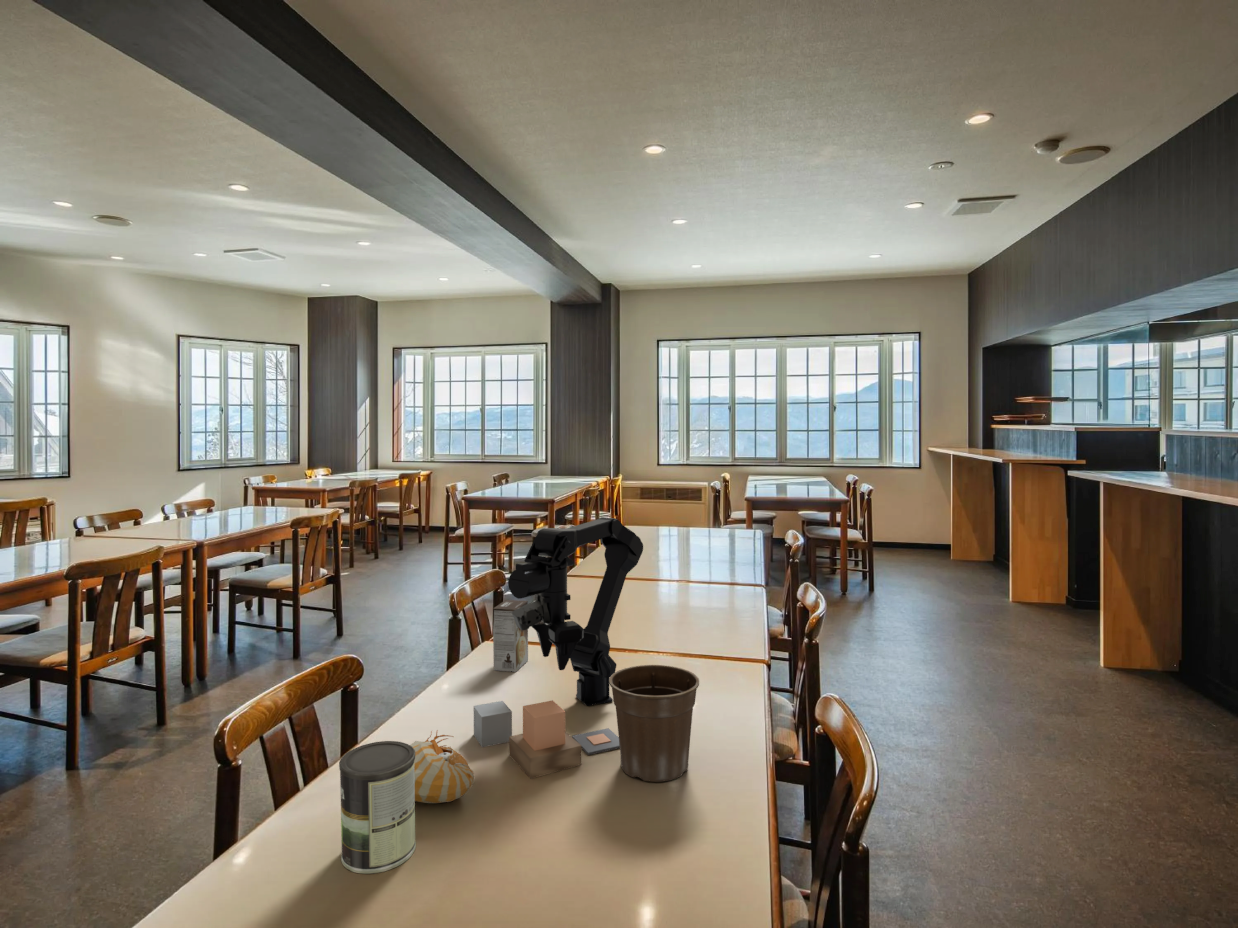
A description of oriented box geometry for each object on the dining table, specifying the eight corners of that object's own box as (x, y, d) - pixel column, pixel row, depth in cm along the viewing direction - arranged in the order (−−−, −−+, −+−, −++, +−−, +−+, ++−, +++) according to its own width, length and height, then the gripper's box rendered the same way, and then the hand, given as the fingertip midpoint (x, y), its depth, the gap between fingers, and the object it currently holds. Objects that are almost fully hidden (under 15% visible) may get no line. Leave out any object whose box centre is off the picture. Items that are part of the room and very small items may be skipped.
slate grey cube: (502, 729, 141) (502, 700, 141) (512, 741, 136) (511, 711, 135) (473, 735, 138) (473, 705, 138) (481, 747, 133) (481, 716, 133)
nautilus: (413, 759, 129) (492, 765, 128) (366, 816, 108) (462, 824, 107) (415, 716, 129) (495, 722, 129) (369, 765, 108) (465, 772, 107)
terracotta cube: (552, 731, 132) (552, 700, 132) (565, 743, 127) (565, 711, 126) (522, 737, 129) (522, 705, 129) (534, 750, 124) (534, 717, 124)
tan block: (557, 745, 135) (557, 725, 135) (581, 766, 126) (581, 745, 126) (509, 757, 130) (509, 736, 130) (530, 780, 121) (530, 758, 121)
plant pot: (595, 754, 130) (595, 670, 129) (672, 739, 136) (672, 659, 136) (631, 797, 115) (631, 701, 114) (715, 778, 121) (716, 687, 121)
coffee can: (330, 876, 94) (328, 775, 94) (353, 832, 105) (351, 741, 104) (408, 872, 95) (406, 772, 95) (422, 829, 106) (421, 739, 105)
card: (608, 730, 140) (608, 726, 140) (626, 746, 133) (626, 742, 133) (571, 737, 137) (571, 734, 137) (588, 755, 130) (588, 751, 130)
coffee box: (505, 658, 184) (505, 599, 183) (528, 660, 183) (528, 600, 182) (492, 670, 175) (492, 607, 174) (516, 672, 174) (516, 609, 173)
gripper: (502, 583, 149) (503, 655, 150) (531, 603, 133) (531, 683, 133) (551, 579, 154) (551, 648, 155) (584, 597, 137) (584, 674, 138)
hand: (553, 662), depth 145 cm, fingers open, 9 cm apart
